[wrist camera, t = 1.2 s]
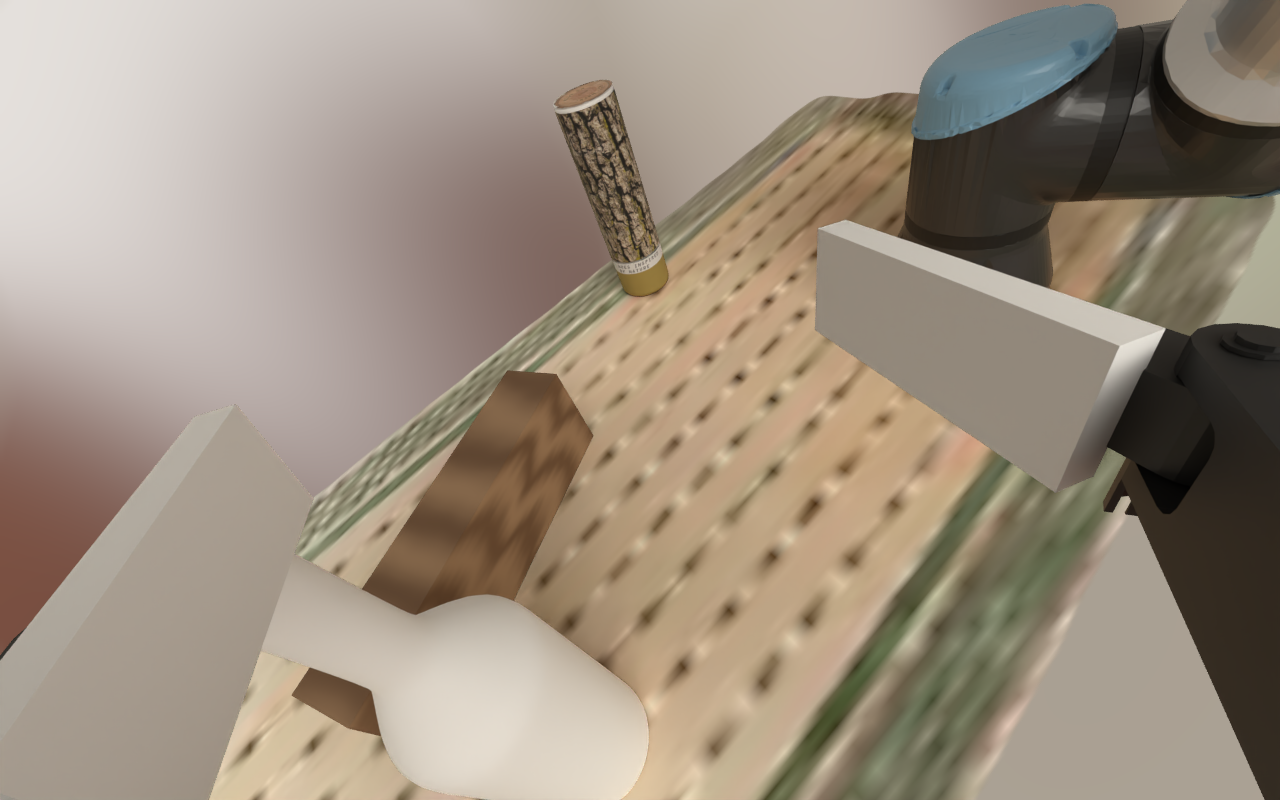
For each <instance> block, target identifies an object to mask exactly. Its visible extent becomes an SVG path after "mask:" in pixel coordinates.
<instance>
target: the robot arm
mask: <svg viewBox="0 0 1280 800" xmlns="http://www.w3.org/2000/svg"><path fill="white" fill-rule="evenodd" d="M912 134H913V135H914V141H913V150H912V159H911V167H910V176H909V184H908V192H907V201H906V211H905V219H904V225H903V227H902V229H901V231H900V233H899V235H898V237H895V236H892V235H889V234H886V233H883V232H880V231H877V230H874V229H871V228H868V227H866V226H863V225H860V224H857V223H854V222H851V221H848V220H844V221H840V222H837V223H834V224H831V225H827V226H824V227H821V228H818V241H817V279H816V317H815V330H816V331H817V332H819V333H820V334H822V335H823V336H825V337H826V338H828V339H829V340H831V341H832V342H834V343H835V344H836V345H838V346H839V347H841V348H842V349H844V350H845V351H847V352H848V353H850V354H851V355H853V356H854V357H856V358H857V359H859V360H860V361H862V362H863V363H865V364H866V365H868V366H869V367H870V368H872V369H873V370H875V371H876V372H878V373H879V374H881V375H882V376H884V377H885V378H887V379H888V380H890V381H891V382H893V383H894V384H896V385H897V386H899V387H900V388H902V389H903V390H905V391H906V392H907V393H909V394H910V395H912V396H913V397H915V398H916V399H918V400H919V401H921V402H922V403H924V404H925V405H927V406H928V407H930V408H931V409H933V410H934V411H936V412H937V413H939V414H940V415H942V416H943V417H944V418H946V419H947V420H949V421H950V422H952V423H953V424H955V425H956V426H958V427H959V428H961V429H962V430H964V431H965V432H967V433H968V434H970V435H971V436H973V437H974V438H976V439H977V440H978V441H980V442H981V443H983V444H984V445H986V446H987V447H989V448H990V449H992V450H993V451H995V452H996V453H998V454H999V455H1001V456H1002V457H1004V458H1005V459H1007V460H1008V461H1010V462H1011V463H1013V464H1014V465H1015V466H1017V467H1018V468H1020V469H1021V470H1023V471H1024V472H1026V473H1027V474H1029V475H1030V476H1032V477H1033V478H1035V479H1036V480H1038V481H1039V482H1041V483H1042V484H1044V485H1045V486H1047V487H1048V488H1049V489H1051V490H1052V491H1054V492H1055V493H1056V492H1058V491H1060V490H1063V489H1065V488H1067V487H1070V486H1072V485H1074V484H1077V483H1079V482H1081V481H1084V480H1086V479H1088V478H1091V477H1093V476H1094V474H1095V472H1096V470H1097V468H1098V466H1099V464H1100V462H1101V460H1102V458H1103V456H1104V454H1105V452H1106V450H1107V447H1108V448H1110V449H1112V450H1114V451H1116V452H1118V453H1119V454H1121V455H1123V456H1125V457H1126V459H1125V461H1124V463H1123V465H1122V467H1121V469H1120V471H1119V473H1118V474H1117V476H1116V478H1115V480H1114V482H1113V484H1112V486H1111V488H1110V490H1109V492H1108V493H1107V495H1106V497H1105V499H1104V501H1103V506H1104V511H1105V512H1112V513H1113V511H1114V509H1115V507H1116V505H1117V504H1118V502H1119V500H1120V498H1121V497H1123V496H1129V497H1130V500H1131V503H1130V504H1129V506H1128V508H1127V510H1126V511H1125V514H1127V515H1134V516H1138V518H1139V520H1140V522H1141V524H1142V526H1143V529H1144V531H1145V533H1146V535H1147V538H1148V540H1149V542H1150V544H1151V546H1152V549H1153V551H1154V553H1155V555H1156V558H1157V560H1158V562H1159V564H1160V567H1161V569H1162V571H1163V573H1164V576H1165V578H1166V580H1167V582H1168V585H1169V587H1170V589H1171V591H1172V593H1173V596H1174V598H1175V600H1176V603H1177V605H1178V607H1179V609H1180V611H1181V613H1182V616H1183V618H1184V620H1185V623H1186V625H1187V627H1188V629H1189V631H1190V634H1191V636H1192V638H1193V640H1194V643H1195V645H1196V647H1197V649H1198V652H1199V654H1200V656H1201V658H1202V660H1203V663H1204V665H1205V667H1206V669H1207V672H1208V674H1209V676H1210V679H1211V681H1212V683H1213V685H1214V687H1215V690H1216V692H1217V694H1218V696H1219V699H1220V701H1221V703H1222V705H1223V707H1224V710H1225V712H1226V714H1227V717H1228V719H1229V721H1230V723H1231V725H1232V728H1233V730H1234V732H1235V734H1236V737H1237V739H1238V741H1239V743H1240V746H1241V748H1242V750H1243V752H1244V755H1245V757H1246V759H1247V761H1248V764H1249V766H1250V768H1251V770H1252V772H1253V775H1254V776H1255V779H1256V781H1257V784H1258V786H1259V788H1260V790H1261V793H1262V795H1263V797H1264V799H1265V800H1280V329H1279V328H1274V327H1268V326H1264V325H1252V324H1240V323H1232V324H1214V325H1210V326H1207V327H1203V328H1200V329H1197V330H1196V331H1195V332H1194V333H1193V334H1192V335H1191V336H1187V335H1184V334H1181V333H1178V332H1175V331H1172V330H1169V329H1166V328H1163V327H1160V326H1157V325H1154V324H1152V323H1149V322H1146V321H1143V320H1140V319H1137V318H1134V317H1131V316H1128V315H1125V314H1122V313H1119V312H1116V311H1113V310H1110V309H1107V308H1104V307H1101V306H1098V305H1096V304H1092V303H1089V302H1087V301H1084V300H1081V299H1078V298H1075V297H1072V296H1069V295H1066V294H1063V293H1060V292H1057V291H1054V290H1051V289H1049V287H1050V284H1051V282H1052V276H1053V267H1052V258H1051V248H1050V239H1049V230H1048V222H1049V219H1050V216H1051V213H1052V210H1053V207H1054V205H1055V203H1056V202H1072V201H1093V200H1125V199H1156V198H1188V197H1220V196H1226V197H1232V198H1243V199H1251V198H1261V197H1263V196H1268V197H1269V196H1273V195H1278V194H1280V0H1187V1H1186V2H1185V4H1184V5H1183V6H1182V8H1181V9H1180V10H1179V12H1178V14H1177V15H1176V17H1175V18H1174V20H1168V21H1162V22H1156V23H1149V24H1143V25H1138V26H1135V27H1128V28H1122V29H1118V23H1117V21H1116V15H1115V13H1114V12H1113V10H1112V9H1110V8H1109V7H1106V6H1104V5H1098V4H1097V5H1095V4H1082V5H1079V6H1075V7H1070V6H1069V5H1064V6H1059V7H1052V8H1047V9H1043V10H1038V11H1034V12H1031V13H1027V14H1023V15H1020V16H1017V17H1014V18H1011V19H1008V20H1005V21H1002V22H1000V23H997V24H995V25H992V26H990V27H987V28H985V29H983V30H981V31H979V32H977V33H974V34H972V35H970V36H968V37H967V38H965V39H963V40H962V41H960V42H958V43H957V44H955V45H953V46H952V47H950V48H949V49H948V50H946V51H945V52H944V53H943V54H942V55H940V56H939V57H938V58H937V59H936V60H935V62H934V63H933V64H932V65H931V66H930V67H929V69H928V70H927V72H926V74H925V76H924V78H923V80H922V83H921V87H920V93H919V99H918V105H917V111H916V116H915V118H914V120H913V123H912ZM312 502H313V497H312V496H311V495H310V494H309V492H308V491H307V490H306V489H305V488H304V486H303V485H302V484H301V483H300V481H299V480H298V479H297V478H296V477H295V475H293V473H292V472H291V471H290V470H289V468H288V467H287V466H286V464H285V463H284V462H283V461H282V460H281V458H280V457H279V456H278V455H277V454H276V452H275V451H274V450H273V449H272V447H271V446H270V445H269V444H268V443H267V441H266V440H265V439H264V438H263V437H262V435H261V434H260V433H259V432H258V430H257V429H256V428H255V427H254V426H253V424H252V423H251V422H250V421H249V420H248V418H247V417H246V416H245V415H244V413H243V412H242V411H241V410H240V408H239V407H238V406H237V405H236V404H235V405H231V406H228V407H225V408H221V409H218V410H214V411H211V412H208V413H205V414H201V415H198V416H195V417H194V418H193V419H192V421H191V422H190V423H189V424H188V426H187V427H186V428H185V429H184V431H183V432H182V433H181V434H180V436H179V437H178V438H177V439H176V441H175V442H174V443H173V444H172V446H171V447H170V448H169V449H168V451H167V452H166V453H165V454H164V456H163V457H162V458H161V459H160V461H159V462H158V463H157V464H156V466H155V467H154V468H153V470H152V471H151V472H150V473H149V475H148V476H147V477H146V478H145V480H144V481H143V482H142V483H141V485H140V486H139V487H138V488H137V490H136V491H135V492H134V493H133V495H132V496H131V497H130V498H129V500H128V501H127V502H126V504H125V505H124V506H123V507H122V508H121V510H120V511H119V512H118V513H117V515H116V516H115V517H114V519H113V520H112V521H111V522H110V523H109V525H108V526H107V527H106V529H105V530H104V531H103V532H102V534H101V535H100V536H99V537H98V539H97V540H96V541H95V542H94V544H93V545H92V546H91V547H90V549H89V550H88V551H87V552H86V554H85V555H84V556H83V557H82V559H81V560H80V561H79V562H78V564H77V565H76V566H75V567H74V569H73V570H72V571H71V572H70V574H69V575H68V576H67V578H66V579H65V580H64V581H63V583H62V584H61V585H60V586H59V588H58V589H57V590H56V591H55V593H54V594H53V595H52V596H51V598H50V599H49V600H48V601H47V603H46V604H45V605H44V606H43V608H42V609H41V610H40V611H39V613H38V614H37V615H36V616H35V618H34V619H33V620H32V621H31V623H30V624H29V625H28V626H27V627H26V628H25V629H24V630H23V631H22V632H21V633H20V634H18V635H17V636H16V637H15V638H14V639H13V640H12V641H11V643H10V644H9V645H8V646H7V648H6V649H5V650H4V651H3V653H2V654H1V655H0V800H209V798H210V795H211V792H212V789H213V786H214V783H215V780H216V778H217V775H218V772H219V769H220V766H221V763H222V760H223V757H224V755H225V752H226V749H227V746H228V743H229V740H230V737H231V734H232V732H233V729H234V726H235V723H236V720H237V717H238V714H239V711H240V709H241V706H242V703H243V700H244V697H245V694H246V691H247V688H248V686H249V683H250V680H251V677H252V674H253V671H254V668H255V665H256V663H257V660H258V657H259V654H260V651H261V648H262V645H263V642H264V640H265V637H266V634H267V631H268V628H269V625H270V622H271V620H272V617H273V614H274V611H275V608H276V605H277V602H278V599H279V597H280V594H281V591H282V588H283V585H284V582H285V579H286V576H287V574H288V571H289V568H290V565H291V562H292V559H293V556H294V553H295V551H296V548H297V545H298V542H299V539H300V536H301V533H302V530H303V528H304V525H305V522H306V519H307V516H308V513H309V510H310V507H311V505H312Z"/></svg>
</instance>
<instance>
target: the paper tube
mask: <svg viewBox="0 0 1280 800" xmlns="http://www.w3.org/2000/svg"><path fill="white" fill-rule="evenodd" d="M553 107H554V110H555V113H556V116H557V119H558V121H559V124H560V126H561V129H562V132H563V134H564V137H565V139H566V142H567V144H568V147H569V149H570V152H571V155H572V157H573V160H574V162H575V165H576V167H577V170H578V173H579V175H580V178H581V180H582V183H583V186H584V188H585V191H586V193H587V196H588V199H589V201H590V204H591V207H592V209H593V212H594V214H595V217H596V219H597V222H598V225H599V227H600V230H601V232H602V235H603V238H604V240H605V243H606V245H607V248H608V251H609V253H610V255H611V258H612V261H613V263H614V266H615V268H616V271H617V273H618V276H619V278H620V281H621V284H622V286H623V289H624V290H625V292H627V293H628V294H630V295H632V296H646V295H650V294H652V293H654V292H656V291H658V290H659V289H661V288H662V287H663V286H664V285H665V284H666V282H667V279H668V276H669V275H668V270H667V266H666V263H665V259H664V256H663V253H662V249H661V245H660V242H659V239H658V235H657V232H656V228H655V225H654V222H653V219H652V215H651V212H650V208H649V205H648V201H647V198H646V195H645V191H644V188H643V185H642V181H641V178H640V174H639V171H638V168H637V164H636V161H635V158H634V154H633V151H632V147H631V144H630V141H629V138H628V134H627V131H626V127H625V124H624V120H623V117H622V114H621V110H620V107H619V104H618V100H617V97H616V94H615V90H614V87H613V85H612V82H611V81H610V80H597V81H593V82H589V83H586V84H583V85H580V86H578V87H576V88H574V89H572V90H570V91H568V92H566V93H564V94H563V95H561V96H560V97H559V98H558V99H556V100H555V102H554V103H553Z"/></svg>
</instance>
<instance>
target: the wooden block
mask: <svg viewBox="0 0 1280 800" xmlns="http://www.w3.org/2000/svg"><path fill="white" fill-rule="evenodd" d="M592 437H593V434H592V433H591V431H590V429H589V428H588V426H587V424H586V423H585V421H584V419H583V418H582V416H581V414H580V413H579V411H578V409H577V408H576V406H575V404H574V403H573V401H572V399H571V398H570V396H569V394H568V393H567V391H566V389H565V388H564V386H563V384H562V383H561V381H560V379H559V378H558V376H557V374H548V373H534V372H520V371H507V372H506V373H505V375H504V376H503V378H502V379H501V381H500V382H499V384H498V385H497V387H496V388H495V390H494V391H493V393H492V394H491V396H490V397H489V399H488V400H487V402H486V403H485V405H484V406H483V408H482V409H481V411H480V412H479V414H478V415H477V417H476V419H475V420H474V422H473V423H472V425H471V426H470V428H469V429H468V431H467V432H466V434H465V435H464V437H463V438H462V440H461V441H460V443H459V444H458V446H457V447H456V449H455V450H454V452H453V453H452V455H451V456H450V458H449V459H448V461H447V462H446V464H445V465H444V467H443V468H442V470H441V471H440V473H439V474H438V476H437V477H436V479H435V480H434V482H433V483H432V485H431V486H430V488H429V489H428V491H427V492H426V494H425V495H424V497H423V498H422V500H421V501H420V503H419V504H418V506H417V507H416V509H415V510H414V512H413V513H412V515H411V516H410V518H409V519H408V521H407V522H406V524H405V525H404V527H403V528H402V530H401V531H400V533H399V534H398V536H397V537H396V539H395V540H394V542H393V543H392V545H391V546H390V548H389V549H388V551H387V552H386V554H385V555H384V557H383V558H382V560H381V561H380V563H379V564H378V566H377V567H376V569H375V570H374V572H373V573H372V575H371V576H370V578H369V579H368V581H367V582H366V584H365V585H364V587H363V588H362V590H364V591H366V592H368V593H370V594H372V595H374V596H376V597H377V598H379V599H381V600H383V601H385V602H387V603H389V604H391V605H393V606H395V607H397V608H399V609H401V610H404V611H406V612H408V613H410V614H414V615H417V614H420V613H422V612H425V611H427V610H429V609H432V608H434V607H437V606H439V605H442V604H445V603H447V602H451V601H454V600H457V599H461V598H464V597H467V596H475V595H486V594H488V595H495V596H501V597H504V598H507V599H510V600H512V601H513V600H514V598H515V596H516V594H517V592H518V590H519V588H520V586H521V584H522V581H523V579H524V577H525V575H526V573H527V571H528V569H529V567H530V565H531V563H532V561H533V559H534V557H535V555H536V553H537V551H538V548H539V546H540V544H541V542H542V540H543V538H544V536H545V534H546V532H547V530H548V528H549V526H550V524H551V522H552V520H553V518H554V515H555V513H556V511H557V509H558V507H559V505H560V503H561V501H562V499H563V497H564V495H565V493H566V491H567V489H568V487H569V485H570V482H571V480H572V478H573V476H574V474H575V472H576V470H577V468H578V466H579V464H580V462H581V460H582V458H583V456H584V454H585V452H586V449H587V447H588V445H589V443H590V441H591V439H592ZM292 696H293V697H295V698H297V699H299V700H300V701H302V702H304V703H305V704H307V705H309V706H311V707H312V708H314V709H316V710H318V711H319V712H321V713H323V714H324V715H326V716H328V717H330V718H331V719H333V720H335V721H336V722H338V723H340V724H342V725H343V726H345V727H347V728H349V729H353V730H357V731H362V732H366V733H370V734H374V735H379V736H381V733H380V730H379V725H378V720H377V715H376V710H375V705H374V700H373V695H372V691H371V690H369V689H368V688H365V687H363V686H360V685H358V684H355V683H353V682H350V681H347V680H344V679H342V678H339V677H336V676H333V675H331V674H328V673H325V672H322V671H319V670H316V669H313V668H309V670H308V671H307V673H306V674H305V676H304V677H303V679H302V680H301V682H300V683H299V685H298V686H297V688H296V689H295V691H294V692H293V694H292Z"/></svg>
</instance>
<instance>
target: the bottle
mask: <svg viewBox="0 0 1280 800" xmlns="http://www.w3.org/2000/svg"><path fill="white" fill-rule="evenodd" d="M261 651H263V652H266V653H269V654H272V655H275V656H278V657H281V658H284V659H287V660H290V661H293V662H296V663H299V664H302V665H305V666H308V667H310V668H313V669H316V670H319V671H322V672H325V673H328V674H331V675H333V676H336V677H339V678H342V679H344V680H347V681H350V682H353V683H355V684H358V685H360V686H363V687H365V688H368V689H369V690H371V691H372V695H373V700H374V705H375V710H376V715H377V720H378V725H379V730H380V733H381V736H382V740H383V742H384V745H385V748H386V750H387V753H388V755H389V757H390V759H391V761H392V762H393V763H394V765H395V766H396V768H397V769H398V770H399V772H400V773H401V774H402V775H403V776H405V777H406V778H408V779H409V780H410V781H412V782H413V783H415V784H416V785H418V786H420V787H422V788H425V789H428V790H431V791H435V792H439V793H443V794H448V795H455V796H463V797H471V798H479V799H487V800H621V799H622V798H623V797H625V796H626V795H627V794H628V792H629V791H630V790H631V789H632V787H633V786H634V785H635V783H636V782H637V780H638V778H639V776H640V774H641V772H642V770H643V767H644V764H645V761H646V757H647V751H648V745H649V728H648V722H647V716H646V713H645V710H644V707H643V705H642V703H641V701H640V700H639V698H638V696H637V695H636V693H635V692H634V691H633V690H632V689H631V687H630V686H629V685H627V684H626V683H625V682H623V681H622V680H621V679H620V678H618V677H617V676H616V675H614V674H613V673H612V672H610V671H609V670H608V669H606V668H605V667H604V666H602V665H601V664H600V663H599V662H597V661H596V660H595V659H593V658H592V657H591V656H589V655H588V654H587V653H585V652H584V651H583V650H581V649H580V648H579V647H577V646H576V645H575V644H573V643H572V642H571V641H569V640H568V639H567V638H565V637H564V636H563V635H561V634H560V633H559V632H558V631H556V630H555V629H554V628H552V627H551V626H550V625H548V624H547V623H546V622H544V621H543V620H542V619H540V618H539V617H538V616H536V615H535V614H534V613H532V612H531V611H530V610H528V609H527V608H525V607H524V606H522V605H521V604H519V603H517V602H515V601H512V600H510V599H507V598H504V597H501V596H495V595H488V594H486V595H475V596H467V597H464V598H461V599H457V600H454V601H451V602H447V603H445V604H442V605H439V606H437V607H434V608H432V609H429V610H427V611H425V612H422V613H420V614H417V615H414V614H410V613H408V612H406V611H404V610H401V609H399V608H397V607H395V606H393V605H391V604H389V603H387V602H385V601H383V600H381V599H379V598H377V597H376V596H374V595H372V594H370V593H368V592H366V591H364V590H362V589H360V588H358V587H356V586H355V585H353V584H351V583H349V582H347V581H345V580H343V579H341V578H339V577H338V576H336V575H334V574H332V573H330V572H328V571H326V570H324V569H322V568H321V567H319V566H317V565H315V564H313V563H311V562H309V561H307V560H306V559H304V558H302V557H300V556H298V555H296V554H294V556H293V559H292V562H291V565H290V568H289V571H288V574H287V576H286V579H285V582H284V585H283V588H282V591H281V594H280V597H279V599H278V602H277V605H276V608H275V611H274V614H273V617H272V620H271V622H270V625H269V628H268V631H267V634H266V637H265V640H264V642H263V645H262V648H261Z"/></svg>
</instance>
